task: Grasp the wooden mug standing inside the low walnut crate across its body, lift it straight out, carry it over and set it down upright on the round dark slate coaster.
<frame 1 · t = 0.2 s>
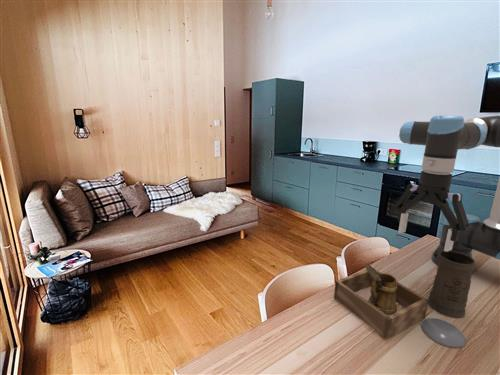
hand: (423, 240, 82), 28 cm above the table, fingers open, 13 cm apart
beer stein: (442, 303, 97), on the table
wooden mug: (377, 308, 94), resting in crate
coaster: (442, 333, 83), on the table
crate: (377, 307, 94), on the table
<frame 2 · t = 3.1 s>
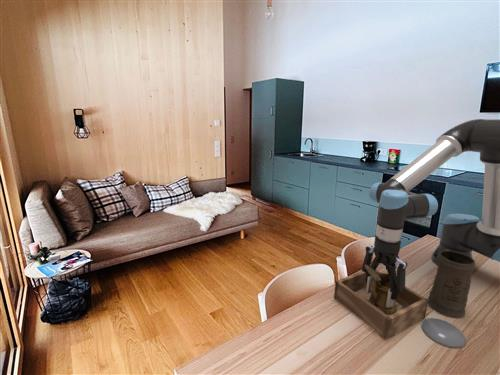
hand: (379, 298, 93), 4 cm above the table, fingers open, 7 cm apart
wooden mug: (377, 307, 94), resting in crate, touching gripper
everything else where it was.
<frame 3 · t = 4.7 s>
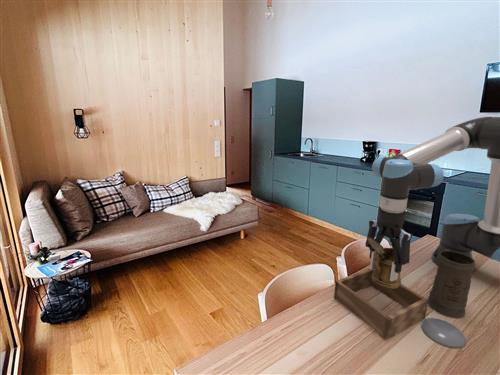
hand: (383, 273, 91), 13 cm above the table, fingers closed on wooden mug, 7 cm apart
wooden mug: (380, 282, 92), point 9 cm above the table, touching gripper
everything else where it was.
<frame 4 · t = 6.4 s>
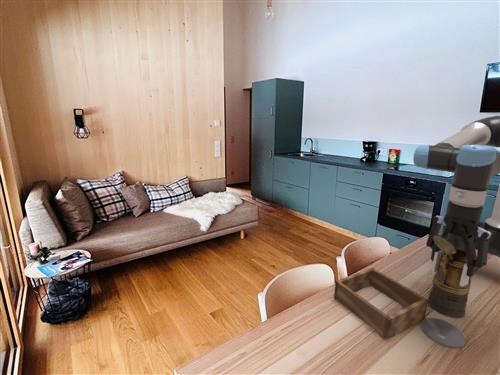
hand: (448, 277, 79), 19 cm above the table, fingers closed on wooden mug, 7 cm apart
wooden mug: (444, 287, 80), point 15 cm above the table, touching gripper
everything else where it was.
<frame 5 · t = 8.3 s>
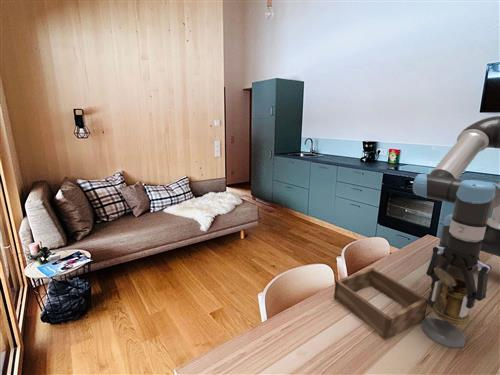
hand: (448, 307, 80), 10 cm above the table, fingers closed on wooden mug, 7 cm apart
wooden mug: (444, 317, 82), point 6 cm above the table, touching gripper
everything else where it was.
when the fingers open (6 cm above the table, at t = 9.4 s): wooden mug drops 1 cm, resting on coaster.
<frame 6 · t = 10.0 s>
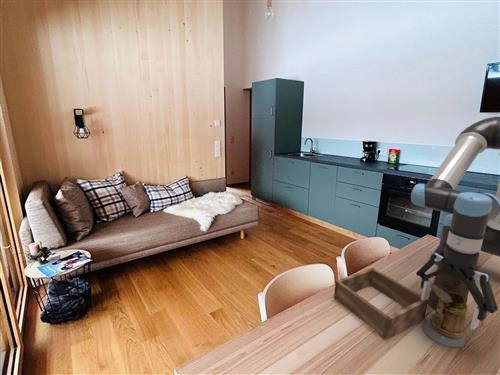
hand: (447, 312, 81), 8 cm above the table, fingers open, 13 cm apart
wooden mug: (441, 329, 83), point 1 cm above the table, touching coaster
everything else where it was.
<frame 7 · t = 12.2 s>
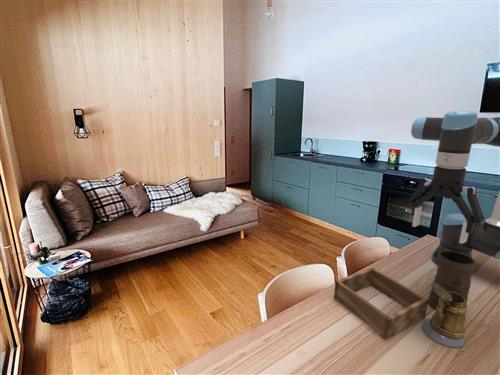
hand: (437, 233, 84), 29 cm above the table, fingers open, 13 cm apart
nothing on the table moved.
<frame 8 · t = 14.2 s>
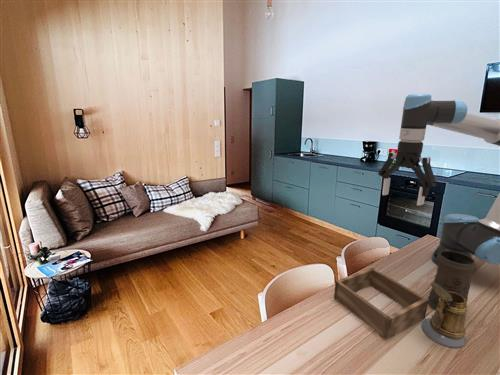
hand: (401, 199, 99), 35 cm above the table, fingers open, 13 cm apart
nothing on the table moved.
at the end: wooden mug 0.5 cm from the coaster (horizontally); wooden mug tilted 0°; the gripper is holding nothing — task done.
